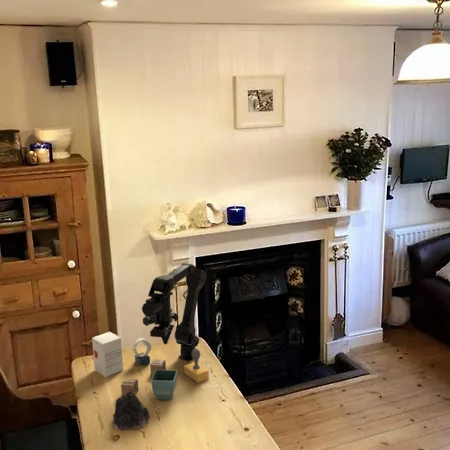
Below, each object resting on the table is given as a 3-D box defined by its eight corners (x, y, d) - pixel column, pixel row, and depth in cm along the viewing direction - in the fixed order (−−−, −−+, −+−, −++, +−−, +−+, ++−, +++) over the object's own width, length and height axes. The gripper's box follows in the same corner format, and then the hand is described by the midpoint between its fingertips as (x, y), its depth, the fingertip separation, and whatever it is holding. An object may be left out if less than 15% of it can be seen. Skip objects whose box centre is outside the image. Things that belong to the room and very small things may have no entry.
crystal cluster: (137, 437, 195) (139, 410, 193) (103, 427, 200) (104, 400, 198) (155, 418, 208) (157, 393, 206) (122, 409, 212) (123, 384, 210)
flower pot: (178, 390, 223) (177, 369, 221) (174, 403, 214) (173, 381, 212) (156, 390, 224) (155, 369, 222) (151, 402, 215) (150, 380, 213)
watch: (154, 362, 246) (152, 338, 244) (137, 367, 242) (135, 343, 239) (148, 357, 251) (146, 334, 248) (131, 362, 246) (129, 339, 244)
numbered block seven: (154, 369, 240) (154, 358, 239) (166, 370, 239) (165, 359, 238) (150, 375, 235) (150, 364, 234) (162, 376, 234) (161, 365, 233)
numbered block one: (126, 389, 225) (125, 377, 224) (138, 390, 224) (137, 378, 223) (121, 396, 220) (120, 384, 219) (134, 397, 219) (133, 385, 218)
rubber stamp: (209, 378, 232) (208, 351, 229) (197, 383, 228) (196, 355, 226) (195, 369, 240) (194, 342, 237) (184, 373, 236) (182, 346, 233)
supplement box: (93, 370, 241) (91, 337, 237) (112, 363, 247) (109, 330, 243) (105, 377, 234) (102, 344, 231) (123, 370, 240) (121, 337, 237)
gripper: (151, 298, 241) (154, 333, 244) (136, 316, 223) (138, 352, 227) (177, 300, 238) (179, 334, 242) (163, 317, 221) (165, 354, 224)
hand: (165, 344), depth 234 cm, fingers closed
